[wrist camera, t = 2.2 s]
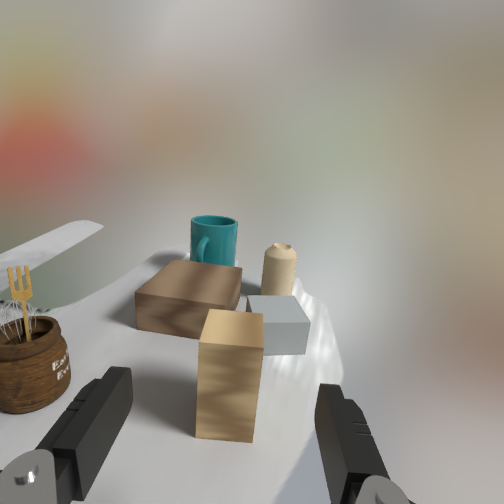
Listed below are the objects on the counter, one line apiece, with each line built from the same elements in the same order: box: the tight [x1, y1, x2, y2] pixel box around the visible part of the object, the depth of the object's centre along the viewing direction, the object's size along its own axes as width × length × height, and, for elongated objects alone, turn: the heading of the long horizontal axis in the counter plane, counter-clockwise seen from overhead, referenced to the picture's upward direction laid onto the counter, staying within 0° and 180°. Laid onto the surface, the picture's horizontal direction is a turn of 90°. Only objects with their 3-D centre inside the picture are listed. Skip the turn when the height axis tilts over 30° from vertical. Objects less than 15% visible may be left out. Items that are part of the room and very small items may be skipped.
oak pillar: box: [196, 309, 264, 443], centre depth 26 cm, size 5×5×10 cm
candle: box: [260, 243, 297, 296], centre depth 49 cm, size 6×6×10 cm
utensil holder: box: [0, 266, 71, 414], centre depth 26 cm, size 6×6×12 cm
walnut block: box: [135, 259, 242, 340], centre depth 43 cm, size 12×13×6 cm
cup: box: [190, 215, 238, 267], centre depth 56 cm, size 9×12×11 cm
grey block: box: [246, 295, 311, 356], centre depth 39 cm, size 7×7×5 cm
